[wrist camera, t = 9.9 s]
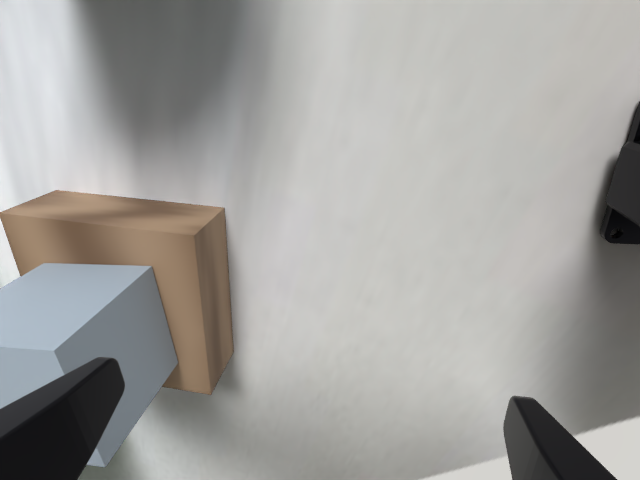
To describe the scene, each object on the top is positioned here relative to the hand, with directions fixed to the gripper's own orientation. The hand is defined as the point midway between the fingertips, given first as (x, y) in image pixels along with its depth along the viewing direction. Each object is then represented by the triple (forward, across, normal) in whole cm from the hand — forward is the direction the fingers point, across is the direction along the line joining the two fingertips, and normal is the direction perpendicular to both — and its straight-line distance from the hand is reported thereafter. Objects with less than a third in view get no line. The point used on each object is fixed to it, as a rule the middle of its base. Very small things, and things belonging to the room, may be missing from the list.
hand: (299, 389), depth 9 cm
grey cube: (+8, +12, +5) cm, 15 cm away
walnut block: (+12, +12, +5) cm, 18 cm away
